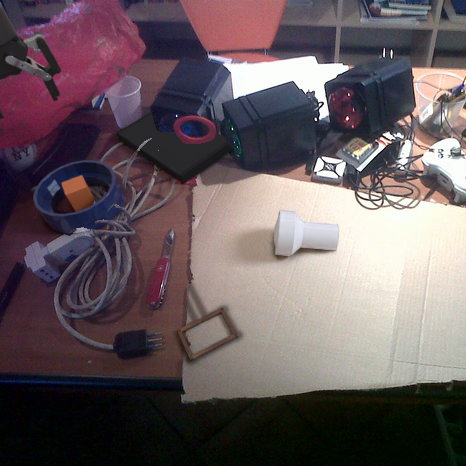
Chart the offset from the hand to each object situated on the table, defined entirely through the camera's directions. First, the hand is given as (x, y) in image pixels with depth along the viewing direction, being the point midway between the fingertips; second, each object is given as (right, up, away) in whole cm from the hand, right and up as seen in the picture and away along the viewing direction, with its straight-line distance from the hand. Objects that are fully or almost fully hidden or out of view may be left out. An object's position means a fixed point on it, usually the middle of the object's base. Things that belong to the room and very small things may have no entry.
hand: (28, 107), depth 79 cm
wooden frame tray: (+27, -34, +1) cm, 43 cm away
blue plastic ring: (+1, -16, +18) cm, 24 cm away
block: (+1, -15, +18) cm, 24 cm away
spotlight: (+45, -23, +9) cm, 51 cm away
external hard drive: (+16, -1, +30) cm, 34 cm away
